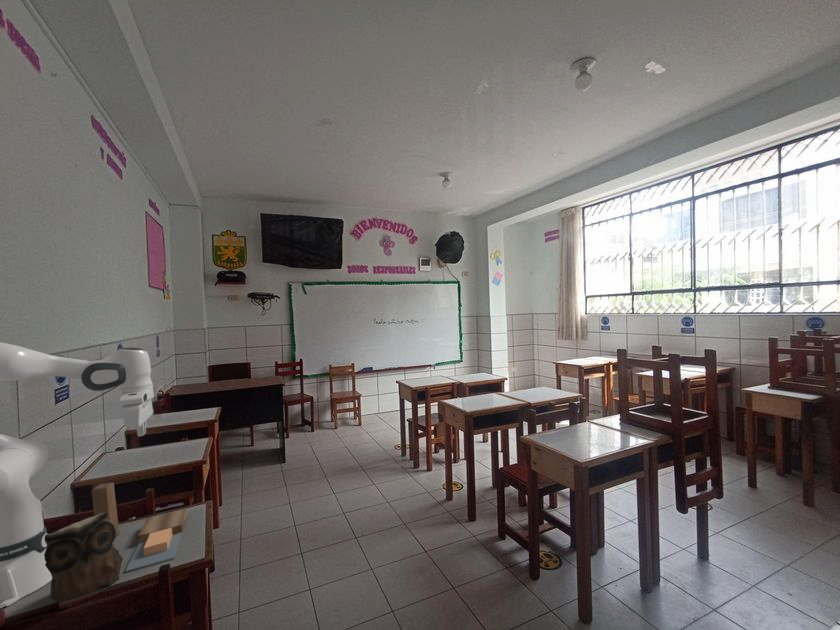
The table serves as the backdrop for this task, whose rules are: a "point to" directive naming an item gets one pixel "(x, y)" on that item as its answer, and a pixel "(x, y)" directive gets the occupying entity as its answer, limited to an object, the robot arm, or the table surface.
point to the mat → (153, 555)
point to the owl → (82, 558)
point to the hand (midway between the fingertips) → (142, 435)
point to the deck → (163, 524)
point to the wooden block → (105, 502)
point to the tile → (158, 541)
